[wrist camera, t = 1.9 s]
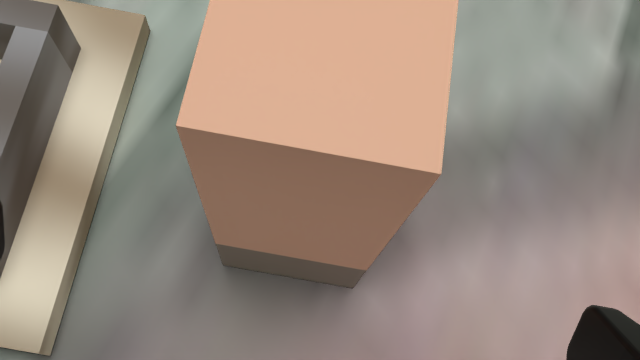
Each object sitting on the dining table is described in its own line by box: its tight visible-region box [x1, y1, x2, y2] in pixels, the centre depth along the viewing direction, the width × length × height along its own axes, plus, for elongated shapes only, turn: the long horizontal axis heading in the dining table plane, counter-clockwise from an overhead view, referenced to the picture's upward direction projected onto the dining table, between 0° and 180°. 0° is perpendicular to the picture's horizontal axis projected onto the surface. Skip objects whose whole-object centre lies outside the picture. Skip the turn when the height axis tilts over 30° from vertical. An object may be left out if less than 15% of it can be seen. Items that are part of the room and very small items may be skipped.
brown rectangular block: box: [176, 0, 458, 288], centre depth 16 cm, size 4×4×11 cm
